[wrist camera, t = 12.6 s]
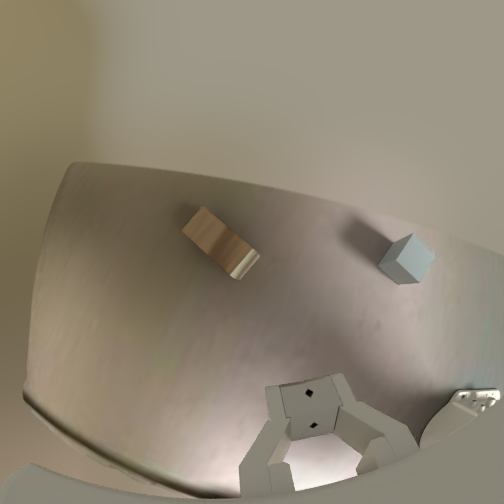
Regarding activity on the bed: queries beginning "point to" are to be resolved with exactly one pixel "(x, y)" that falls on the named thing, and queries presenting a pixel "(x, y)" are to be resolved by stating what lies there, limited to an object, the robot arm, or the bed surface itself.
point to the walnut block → (220, 243)
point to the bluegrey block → (407, 260)
